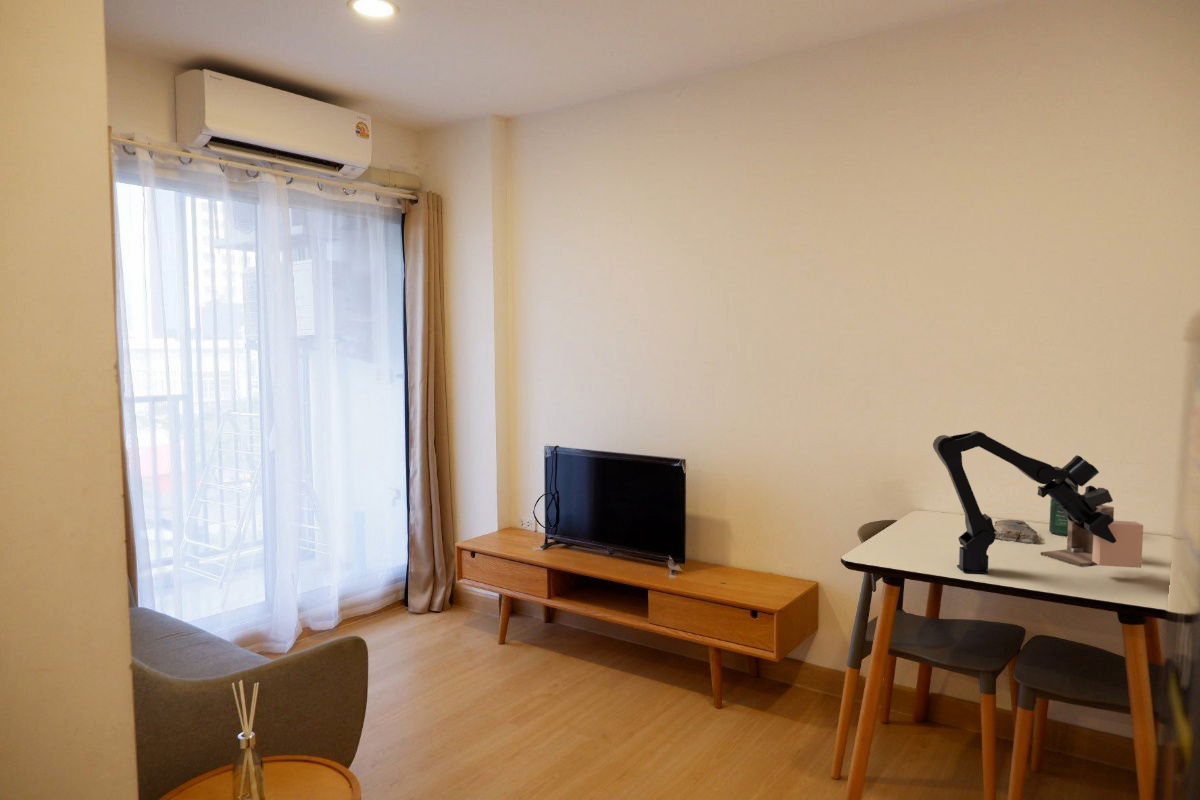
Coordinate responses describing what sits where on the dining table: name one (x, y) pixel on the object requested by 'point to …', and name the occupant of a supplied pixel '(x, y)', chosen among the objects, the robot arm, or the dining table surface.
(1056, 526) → the coffee jar
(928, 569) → the dining table surface
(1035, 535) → the jagged gray stone
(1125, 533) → the terracotta slab
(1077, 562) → the walnut shelf
